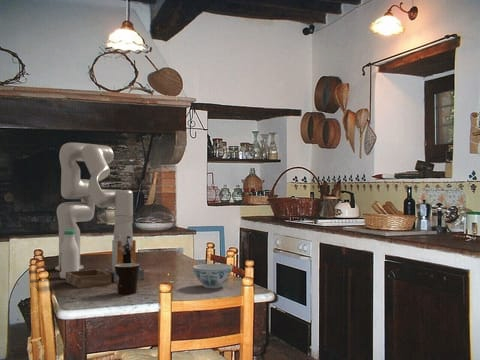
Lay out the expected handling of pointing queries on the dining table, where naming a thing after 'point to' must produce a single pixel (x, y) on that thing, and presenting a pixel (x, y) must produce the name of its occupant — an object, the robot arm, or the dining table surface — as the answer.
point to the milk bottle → (69, 254)
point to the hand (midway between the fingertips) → (123, 262)
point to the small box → (121, 253)
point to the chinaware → (212, 274)
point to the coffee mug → (127, 278)
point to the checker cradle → (113, 274)
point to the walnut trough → (88, 278)
